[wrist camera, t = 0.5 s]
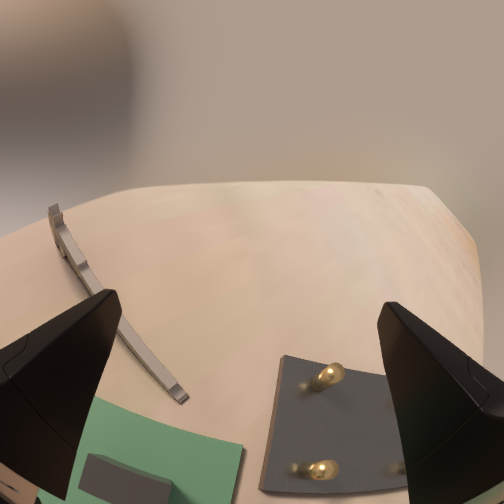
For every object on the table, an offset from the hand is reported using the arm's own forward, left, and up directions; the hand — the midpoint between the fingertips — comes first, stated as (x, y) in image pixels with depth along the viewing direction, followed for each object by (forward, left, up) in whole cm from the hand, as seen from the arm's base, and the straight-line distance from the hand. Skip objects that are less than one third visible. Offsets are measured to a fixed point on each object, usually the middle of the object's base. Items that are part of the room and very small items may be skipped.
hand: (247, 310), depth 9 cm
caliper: (+5, +10, -16) cm, 19 cm away
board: (-8, +3, -16) cm, 18 cm away
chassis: (0, -15, -15) cm, 21 cm away
